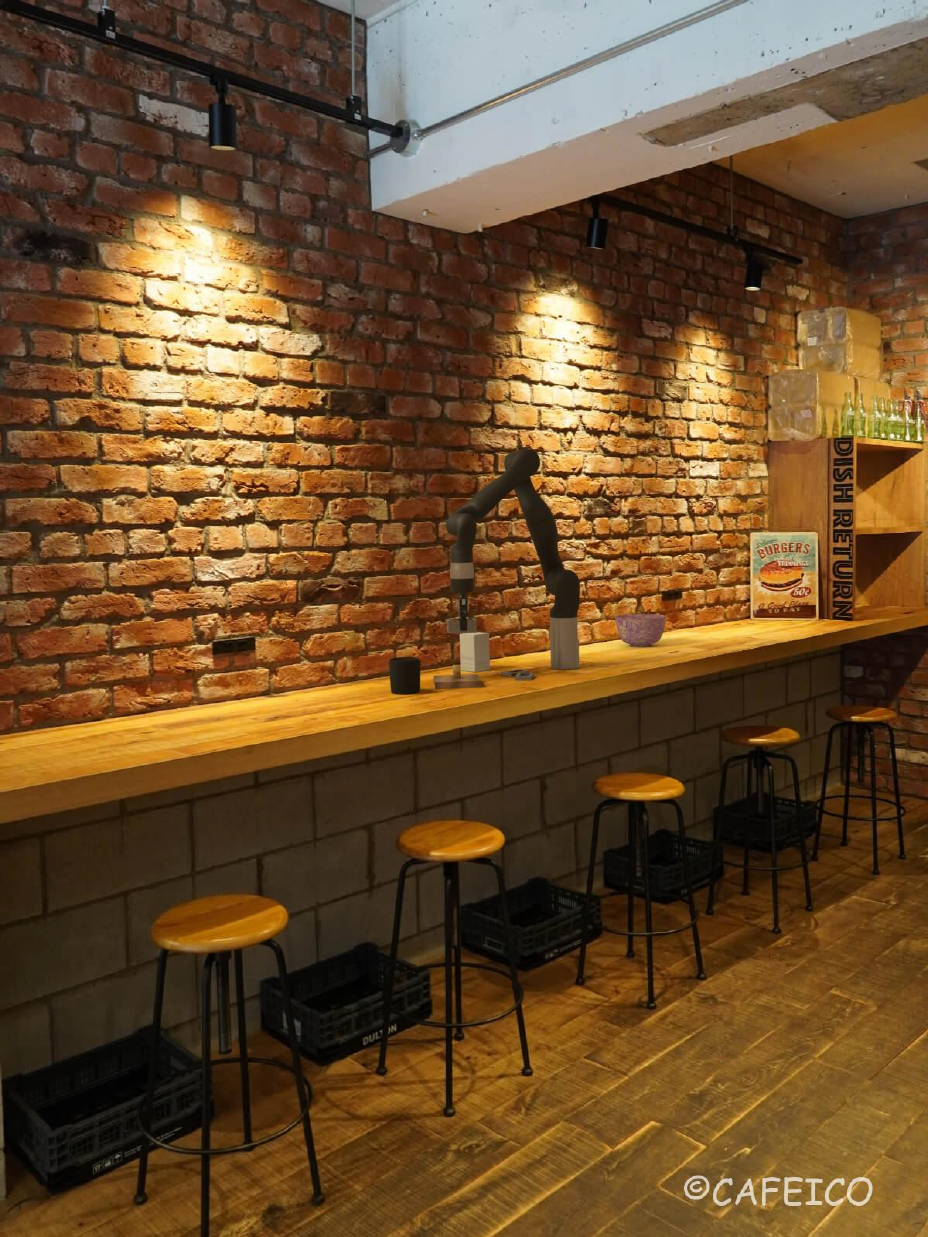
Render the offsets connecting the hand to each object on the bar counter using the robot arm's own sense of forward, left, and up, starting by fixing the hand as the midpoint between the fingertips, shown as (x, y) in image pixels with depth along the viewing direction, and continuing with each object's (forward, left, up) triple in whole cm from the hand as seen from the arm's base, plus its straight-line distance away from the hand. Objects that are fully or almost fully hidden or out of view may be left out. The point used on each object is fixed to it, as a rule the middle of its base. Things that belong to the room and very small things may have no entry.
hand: (463, 629), depth 332 cm
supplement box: (-5, -19, -16) cm, 25 cm away
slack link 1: (-17, -5, -16) cm, 24 cm away
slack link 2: (-19, +3, -16) cm, 25 cm away
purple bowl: (-74, -71, -16) cm, 104 cm away
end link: (0, 0, -1) cm, 1 cm away
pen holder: (+19, +22, -16) cm, 33 cm away
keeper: (+3, +11, -16) cm, 20 cm away
